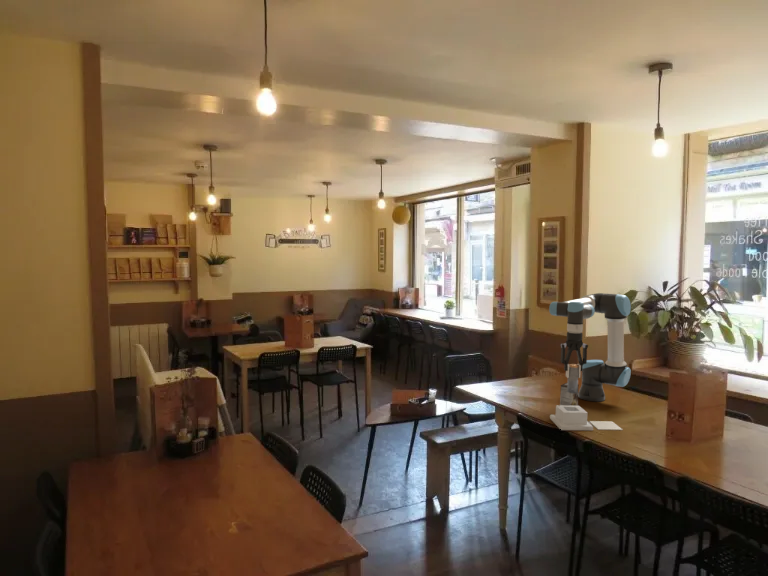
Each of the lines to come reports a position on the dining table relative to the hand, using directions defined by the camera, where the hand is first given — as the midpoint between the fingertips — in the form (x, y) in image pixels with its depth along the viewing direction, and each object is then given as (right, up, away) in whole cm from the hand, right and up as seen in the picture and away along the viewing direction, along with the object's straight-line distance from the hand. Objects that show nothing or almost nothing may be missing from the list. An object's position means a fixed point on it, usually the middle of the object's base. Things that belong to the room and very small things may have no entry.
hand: (572, 377), depth 268 cm
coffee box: (+5, -23, +20) cm, 31 cm away
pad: (+17, -25, 0) cm, 30 cm away
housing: (0, -25, +2) cm, 25 cm away
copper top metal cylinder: (0, -8, +1) cm, 8 cm away
